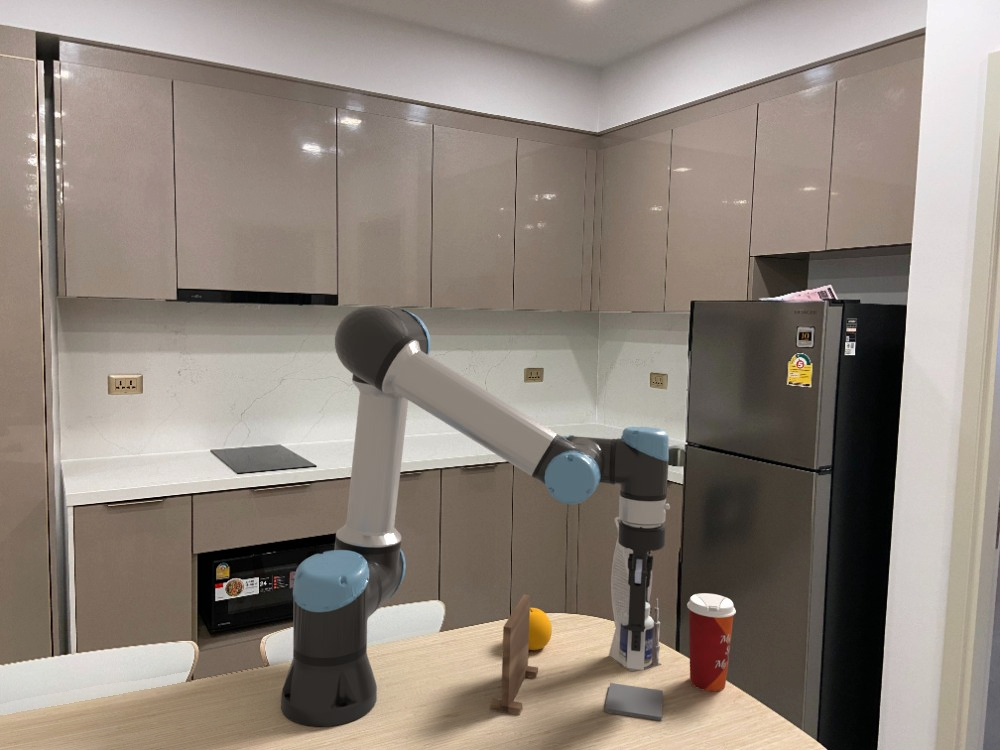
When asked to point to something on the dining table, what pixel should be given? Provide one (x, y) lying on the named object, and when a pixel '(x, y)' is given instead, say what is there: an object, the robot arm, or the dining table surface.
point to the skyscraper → (621, 596)
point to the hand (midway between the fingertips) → (636, 659)
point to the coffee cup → (709, 640)
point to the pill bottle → (648, 636)
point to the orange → (538, 629)
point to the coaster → (634, 701)
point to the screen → (515, 658)
